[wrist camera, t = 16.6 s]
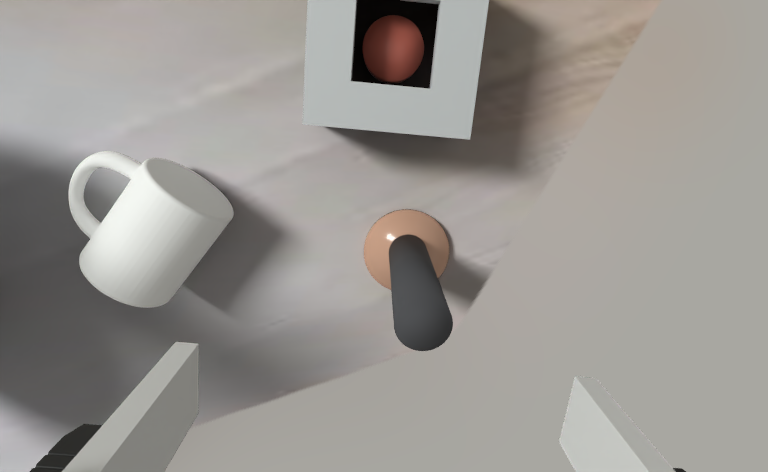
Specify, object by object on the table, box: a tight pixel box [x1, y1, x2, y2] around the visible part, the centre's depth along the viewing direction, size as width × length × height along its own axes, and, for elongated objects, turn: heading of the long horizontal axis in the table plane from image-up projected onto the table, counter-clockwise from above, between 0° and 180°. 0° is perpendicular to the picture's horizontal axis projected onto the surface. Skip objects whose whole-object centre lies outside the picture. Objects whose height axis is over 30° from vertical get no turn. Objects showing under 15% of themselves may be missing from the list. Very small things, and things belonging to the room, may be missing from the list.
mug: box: [68, 151, 234, 308], centre depth 38 cm, size 12×10×8 cm
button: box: [363, 15, 424, 84], centre depth 35 cm, size 5×5×3 cm
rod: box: [389, 234, 453, 351], centre depth 35 cm, size 4×4×15 cm
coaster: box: [364, 209, 449, 290], centre depth 42 cm, size 8×8×1 cm
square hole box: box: [302, 0, 489, 140], centre depth 34 cm, size 12×12×8 cm
